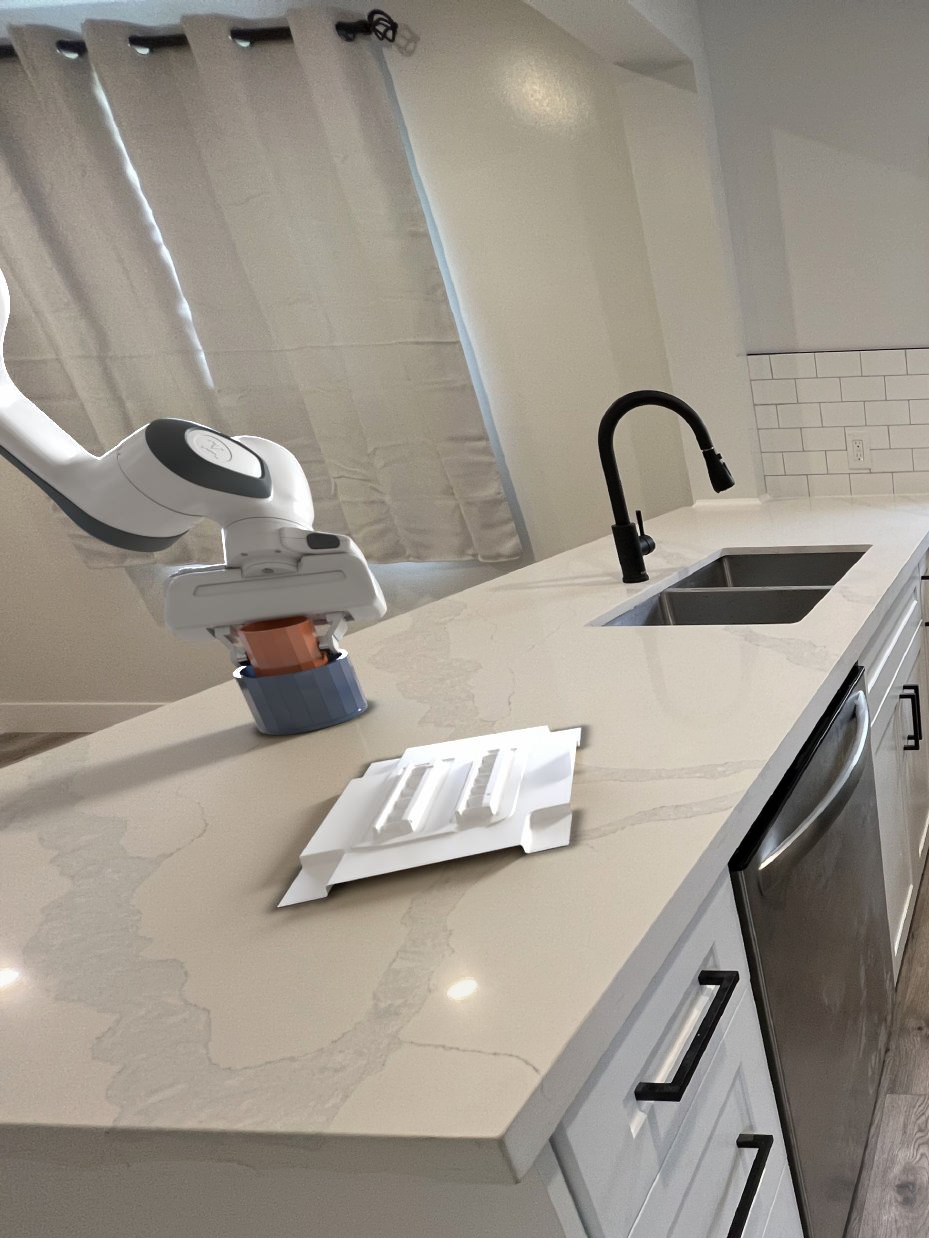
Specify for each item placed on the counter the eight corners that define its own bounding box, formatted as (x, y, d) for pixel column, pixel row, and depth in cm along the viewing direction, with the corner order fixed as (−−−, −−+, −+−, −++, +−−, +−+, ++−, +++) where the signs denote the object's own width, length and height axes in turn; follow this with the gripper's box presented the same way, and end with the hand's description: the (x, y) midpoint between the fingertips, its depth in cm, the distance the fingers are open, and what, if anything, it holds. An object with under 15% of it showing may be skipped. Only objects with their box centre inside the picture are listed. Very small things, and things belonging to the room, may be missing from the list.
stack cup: (239, 727, 94) (213, 672, 91) (335, 696, 103) (314, 645, 100) (291, 740, 90) (265, 682, 87) (387, 706, 99) (366, 653, 96)
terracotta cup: (256, 702, 94) (223, 629, 90) (319, 683, 100) (290, 613, 96) (289, 709, 92) (257, 634, 88) (351, 690, 97) (323, 618, 93)
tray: (276, 908, 61) (256, 866, 59) (373, 772, 84) (360, 740, 83) (571, 844, 68) (559, 805, 66) (583, 735, 92) (575, 705, 90)
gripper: (146, 555, 90) (154, 661, 86) (364, 534, 98) (380, 630, 94) (178, 586, 95) (187, 687, 91) (382, 564, 104) (398, 655, 100)
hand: (287, 658), depth 93 cm, fingers closed on terracotta cup, 7 cm apart
